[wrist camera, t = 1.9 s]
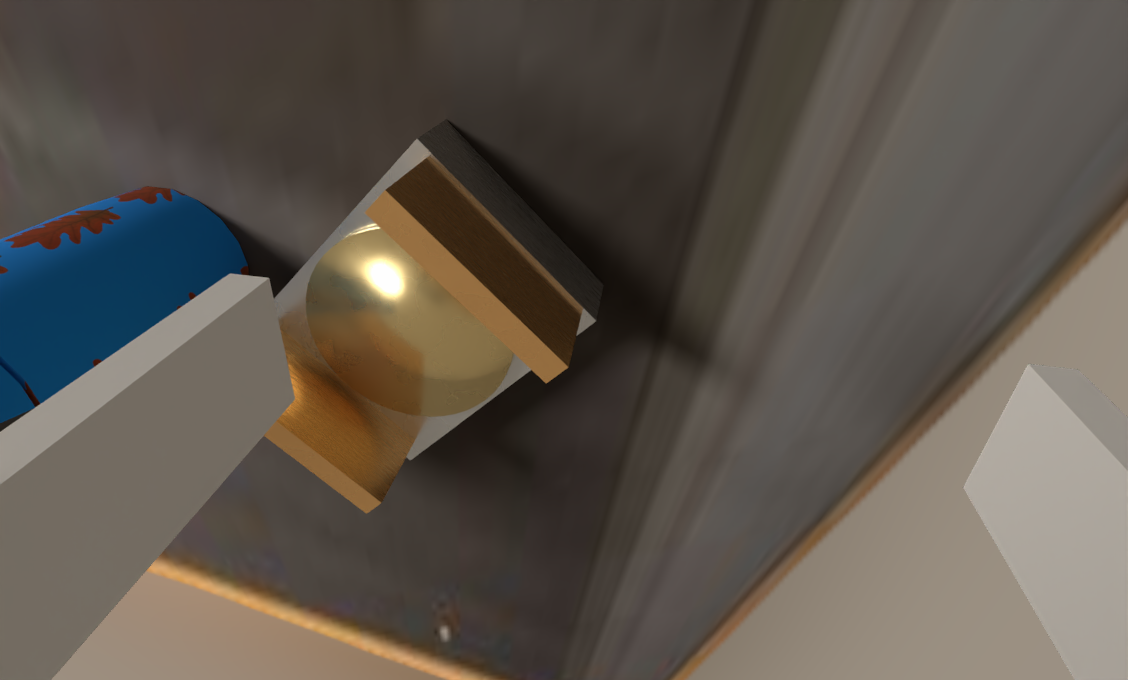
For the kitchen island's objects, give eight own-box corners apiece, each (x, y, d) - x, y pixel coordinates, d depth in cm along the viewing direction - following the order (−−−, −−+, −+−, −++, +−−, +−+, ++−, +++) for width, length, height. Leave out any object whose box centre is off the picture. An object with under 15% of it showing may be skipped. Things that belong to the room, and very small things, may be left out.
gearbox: (287, 294, 44) (186, 380, 35) (446, 119, 36) (370, 170, 27) (432, 417, 48) (376, 524, 39) (603, 284, 41) (585, 378, 31)
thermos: (254, 340, 47) (-86, 644, 26) (118, 302, 47) (-333, 575, 26) (248, 207, 41) (-192, 458, 20) (94, 164, 41) (-511, 368, 20)
